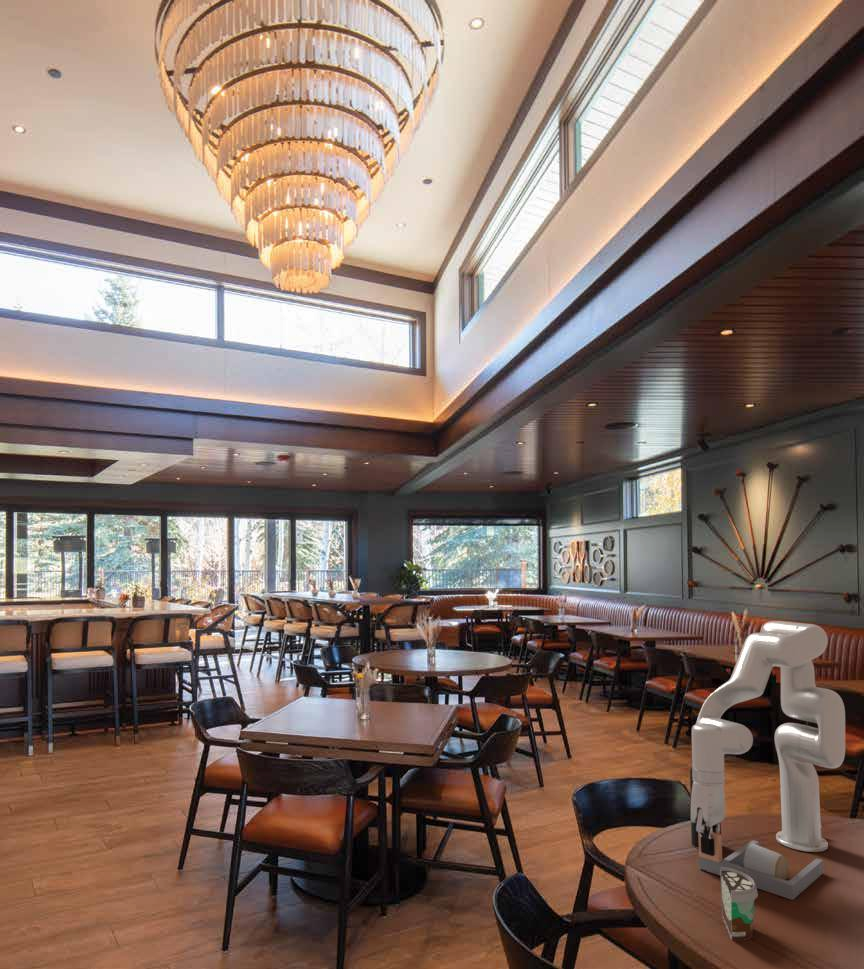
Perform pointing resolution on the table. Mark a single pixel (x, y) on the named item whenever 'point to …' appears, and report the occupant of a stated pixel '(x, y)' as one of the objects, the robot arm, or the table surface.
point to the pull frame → (760, 879)
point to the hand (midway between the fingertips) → (710, 851)
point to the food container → (737, 902)
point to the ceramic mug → (765, 861)
